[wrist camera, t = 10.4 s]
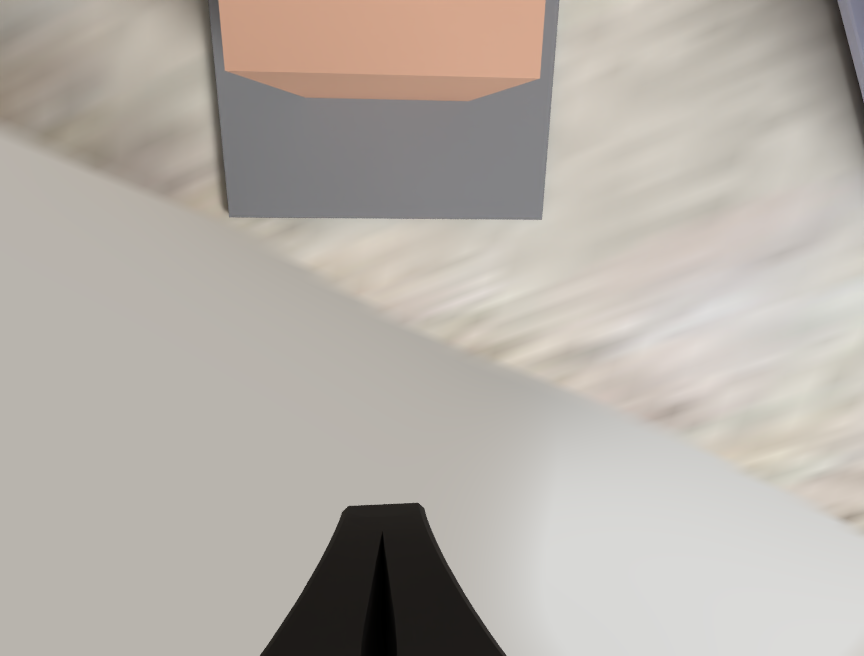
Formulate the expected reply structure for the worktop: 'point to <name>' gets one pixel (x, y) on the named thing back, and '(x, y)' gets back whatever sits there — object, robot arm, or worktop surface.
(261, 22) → the domino
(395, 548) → the robot arm
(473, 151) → the mat
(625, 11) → the worktop surface
